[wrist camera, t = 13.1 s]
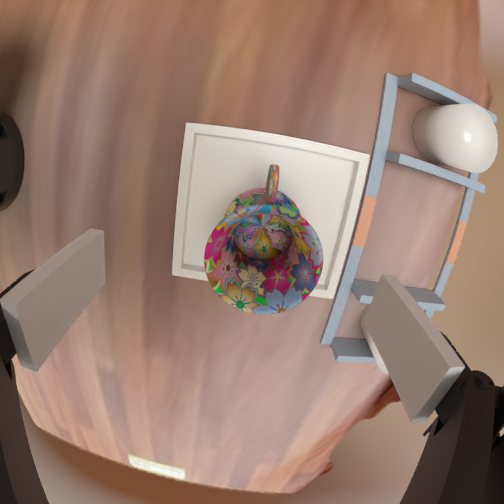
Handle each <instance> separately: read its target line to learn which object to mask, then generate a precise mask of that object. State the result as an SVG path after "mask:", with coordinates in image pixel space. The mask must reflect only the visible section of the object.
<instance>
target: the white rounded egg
mask: <svg viewBox="0 0 504 504" xmlns="http://www.w3.org/2000/svg"><path fill="white" fill-rule="evenodd" d="M370 305H371V304H368V305H367V306H366V308H365V309H364V311H363V312H362V315H361V318H360V326H361V329H362V331H363V333H364V336H365V338H366V340H367V342H368V345H369V347H370V349H371V351H372V354H373V356H374V358H375V360H376V363H377V365H378V367H379V369H380V370H381V371H382V372H383V373H386V374H389V373H388V370H387V368H386V366H385V364H384V362H383V360H382V358H381V356H380V354H379V352H378V350H377V347H376V345H375V343H374V341H373V339H372V337H371V335H370V333H369V331H368V329H367V327H366V325H365V323H364V320H365V317H366V315H367V312H368V310H369V307H370Z"/></svg>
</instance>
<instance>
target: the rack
mask: <svg viewBox="0 0 504 504" xmlns="http://www.w3.org/2000/svg"><path fill="white" fill-rule="evenodd" d="M397 86H398V87H401V88H403V89H406V90H408V91H411V92H413V93H416V94H418V95H421V96H423V97H426V98H428V99H430V100H433V101H435V102H437V103H439V104H441V105H453V104H476V103H474V102H472V101H470V100H469V99H467V98H465V97H463V96H461V95H459V94H457V93H455V92H453V91H451V90H449V89H447V88H445V87H443V86H441V85H439V84H437V83H435V82H433V81H430V80H428V79H426V78H424V77H421V76H419V75H417V74H414V73H410V74H407V75H404V76H401V77H396V76H393V75H391V74H388V73H386V74H385V80H384V87H383V94H382V101H381V107H380V114H379V120H378V126H377V131H376V137H375V142H374V148H373V153H372V158H371V163H370V167H369V172H368V177H367V181H366V186H365V190H364V195H363V199H362V203H361V207H360V211H359V215H358V219H357V223H356V227H355V231H354V235H353V238H352V242H351V246H350V249H349V253H348V256H347V260H346V263H345V267H344V270H343V274H342V277H341V280H340V284H339V287H338V290H337V293H336V296H335V300H334V303H333V306H332V309H331V312H330V315H329V318H328V321H327V324H326V327H325V330H324V332H323V335H322V338H321V341H320V343H321V344H328V345H331V346H332V350H333V353H334V356H335V360H336V361H338V362H357V363H376V360H375V358H374V356H373V354H372V351H371V349H370V347H369V345H368V342H367V340H365V339H351V338H339V337H334V336H335V333H336V330H337V328H338V325H339V322H340V319H341V316H342V314H343V311H344V308H345V305H346V302H347V299H348V296H349V293H350V290H351V289H352V291H353V293H354V294H355V296H356V298H357V300H358V302H359V303H366V304H371V302H372V300H373V297H374V294H375V292H376V289H377V286H378V284H379V283H376V282H369V281H362V280H355V279H354V278H355V274H356V271H357V268H358V265H359V261H360V258H361V255H362V251H363V248H364V246H365V242H366V239H367V235H368V231H369V228H370V224H371V220H372V216H373V212H374V208H375V204H376V200H377V195H378V190H379V186H380V182H381V177H382V173H383V168H384V163H385V160H388V161H392V162H395V163H398V164H401V165H405V166H408V167H411V168H414V169H417V170H420V171H423V172H426V173H429V174H432V175H435V176H438V177H441V178H444V179H446V180H449V181H452V182H454V183H457V184H460V185H462V186H465V187H466V188H465V193H464V196H463V200H462V204H461V208H460V212H459V215H458V219H457V222H456V226H455V229H454V232H453V235H452V239H451V242H450V245H449V248H448V251H447V254H446V257H445V259H444V262H443V265H442V268H441V271H440V274H439V276H438V279H437V281H436V284H435V286H434V289H433V290H427V289H419V288H412V287H405V286H404V288H405V289H406V290H407V291H408V292H409V294H410V295H411V296H412V297H413V298H414V300H415V301H416V302H417V303H418V305H419V306H420V307H421V308H422V309H424V312H425V313H426V315H427V316H428V317H429V318H430V319H431V317H432V315H433V312H434V310H435V311H443V310H444V308H445V306H446V304H445V303H444V302H443V301H442V300H441V299H440V296H441V294H442V291H443V289H444V287H445V284H446V282H447V279H448V277H449V274H450V271H451V269H452V266H453V264H454V262H455V259H456V256H457V253H458V250H459V248H460V244H461V241H462V238H463V235H464V231H465V228H466V225H467V220H468V217H469V213H470V210H471V206H472V202H473V198H474V194H475V190H476V191H478V192H481V193H484V191H485V187H486V186H485V185H483V184H480V183H478V182H477V180H478V176H479V173H473V172H469V175H468V178H466V177H464V176H462V175H459V174H457V173H454V172H451V171H449V170H446V169H444V168H441V167H438V166H436V165H433V164H430V163H427V162H424V161H421V160H419V159H416V158H413V157H410V156H407V155H403V154H400V153H395V152H389V151H387V148H388V143H389V138H390V132H391V126H392V120H393V114H394V108H395V101H396V94H397ZM476 105H478V104H476ZM478 106H479V105H478ZM480 107H481V106H480ZM482 108H483V107H482ZM483 109H484V108H483ZM484 110H485V111H486V112H487V113H488V114H489V115H490V117H491V118H492V120H493V122H494V124H496V121H497V116H496V115H494V114H493V113H491V112H489V111H488V110H486V109H484Z"/></svg>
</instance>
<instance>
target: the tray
mask: <svg viewBox="0 0 504 504" xmlns="http://www.w3.org/2000/svg"><path fill="white" fill-rule="evenodd" d="M369 157H370V155H368V154H364V153H360V152H356V151H352V150H348V149H344V148H340V147H336V146H332V145H327V144H323V143H318V142H314V141H309V140H304V139H299V138H294V137H288V136H283V135H277V134H272V133H266V132H259V131H253V130H246V129H239V128H232V127H224V126H215V125H206V124H197V123H186V128H185V136H184V143H183V151H182V159H181V168H180V177H179V186H178V197H177V208H176V220H175V233H174V248H173V265H172V275H175V276H181V277H187V278H193V279H199V280H205V281H209V280H208V278H207V275H206V271H205V266H204V253H205V248H206V244H207V241H208V239H209V237H210V235H211V233H212V231H213V230H214V229H215V227H216V226H217V225H218V224H219V223H220V221H222V220H223V219H224V215H225V212H226V210H227V208H228V207H229V205H230V204H231V202H232V201H233V200H234V199H235V198H236V197H238V196H239V195H240V194H242V193H244V192H246V191H248V190H251V189H256V188H266V182H267V176H268V171H269V167H270V165H271V164H275V165H278V166H279V183H278V191H280V192H282V193H284V194H285V195H287V196H288V197H289V198H290V199H291V200H292V201H293V202H294V203H295V204H296V206H297V207H298V209H299V211H300V214H301V216H302V217H303V218H304V219H305V220H306V221H307V222H308V223H309V224H310V225H311V226H312V227H313V229H314V230H315V232H316V233H317V235H318V237H319V239H320V242H321V245H322V249H323V269H322V273H321V276H320V279H319V281H318V283H317V285H316V286H315V288H314V290H313V291H312V292H311V293H310V295H309V296H314V297H322V298H330V299H333V297H334V294H335V290H336V287H337V284H338V281H339V277H340V274H341V271H342V267H343V264H344V260H345V257H346V253H347V250H348V246H349V242H350V238H351V235H352V231H353V227H354V223H355V219H356V215H357V211H358V207H359V203H360V199H361V194H362V190H363V186H364V181H365V177H366V172H367V167H368V162H369Z"/></svg>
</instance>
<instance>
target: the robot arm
mask: <svg viewBox="0 0 504 504" xmlns="http://www.w3.org/2000/svg"><path fill="white" fill-rule="evenodd" d="M23 167H24V153H23V144H22V140H21V136H20V133H19V130H18V128H17V126H16V124H15V122H14V121H13V120H12V119H11V118H10V117H9V116H8V115H6V114H4V113H0V210H3V209H5V208H6V207H8V206H9V205H10V204H11V203H12V202H13V200H14V199H15V197H16V195H17V193H18V191H19V188H20V185H21V181H22V176H23ZM105 283H106V275H105V252H104V230H98V229H91V228H90V229H89V230H87V231H86V232H84V233H83V234H82V235H80V236H79V237H77V238H76V239H75V240H73V241H72V242H71V243H69V244H68V245H66V246H65V247H64V248H62V249H61V250H60V251H58V252H57V253H56V254H54V255H53V256H52V257H50V258H49V259H48V260H47V261H45V262H44V263H43V264H41V265H40V266H39V267H38V268H36V269H34V270H32V271H29V272H27V273H25V274H23V275H22V276H21V277H20V278H18V279H17V281H15V282H14V283H12V284H11V285H10V287H8V288H6V289H5V290H4V291H3V292H2V293H0V504H49V503H48V500H47V498H46V495H45V492H44V490H43V487H42V484H41V482H40V479H39V476H38V473H37V470H36V467H35V464H34V461H33V457H32V454H31V450H30V447H29V444H28V439H27V435H26V431H25V427H24V423H23V418H22V413H21V409H20V403H19V398H18V391H17V385H16V378H15V370H14V365H13V362H12V360H11V359H12V358H13V357H14V355H15V354H16V353H17V356H18V358H19V361H20V364H21V365H22V366H24V367H26V368H28V369H31V370H33V371H35V372H37V371H38V370H39V368H40V367H41V365H42V364H43V363H44V361H45V360H46V358H47V357H48V356H49V354H50V353H51V352H52V350H53V349H54V348H55V346H56V345H57V344H58V342H59V341H60V340H61V338H62V337H63V336H64V334H65V333H66V332H67V330H68V329H69V328H70V326H71V325H72V324H73V323H74V321H75V320H76V319H77V318H78V316H79V315H80V314H81V313H82V311H83V310H84V309H85V308H86V306H87V305H88V304H89V303H90V301H91V300H92V299H93V298H94V297H95V295H96V294H97V293H98V292H99V291H100V289H101V288H102V287H103V286H104V285H105ZM364 323H365V325H366V327H367V329H368V331H369V333H370V335H371V337H372V339H373V341H374V343H375V345H376V347H377V350H378V352H379V354H380V356H381V358H382V360H383V362H384V364H385V366H386V368H387V370H388V373H389V375H390V377H391V379H392V381H393V383H394V385H395V388H396V390H397V392H398V394H399V397H400V399H401V401H402V403H403V405H404V408H405V410H406V412H407V415H408V417H409V419H410V422H419V421H425V420H427V419H428V418H429V416H430V415H431V414H432V413H433V411H434V410H436V413H437V415H438V417H437V418H436V419H435V420H434V422H433V423H432V424H431V425H430V426H429V428H428V429H427V430H426V431H425V433H424V434H423V435H424V436H425V435H426V434H427V433H428V432H430V434H429V436H428V439H427V442H426V445H425V447H424V450H423V453H422V455H421V458H420V460H419V463H418V465H417V468H416V470H415V472H414V475H413V477H412V479H411V481H410V484H409V486H408V488H407V490H406V492H405V494H404V496H403V498H402V500H401V502H400V504H504V434H503V435H502V436H501V437H500V433H499V432H500V431H501V430H502V428H503V427H504V386H503V387H499V386H495V385H494V383H493V381H492V379H491V378H490V377H489V376H487V375H486V374H484V373H483V372H481V371H474V370H473V371H471V370H470V368H469V367H468V366H467V364H466V363H465V361H464V360H463V358H462V357H461V356H460V355H459V353H458V352H456V349H455V347H454V346H453V345H452V344H451V342H450V341H449V339H448V338H447V337H446V336H445V335H444V334H443V333H441V332H440V331H439V330H438V329H437V327H436V326H435V325H434V324H433V322H432V321H431V320H430V318H429V317H428V316H427V315H426V313H425V312H424V311H423V310H422V308H421V307H420V306H419V305H418V303H417V302H416V301H415V300H414V298H413V297H412V296H411V295H410V294H409V292H408V291H407V290H406V289H405V288H404V286H403V285H402V284H401V283H400V282H399V280H398V279H397V278H396V277H395V276H390V275H384V274H382V275H381V278H380V281H379V284H378V286H377V289H376V292H375V294H374V297H373V300H372V302H371V305H370V307H369V310H368V312H367V315H366V317H365V320H364Z"/></svg>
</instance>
